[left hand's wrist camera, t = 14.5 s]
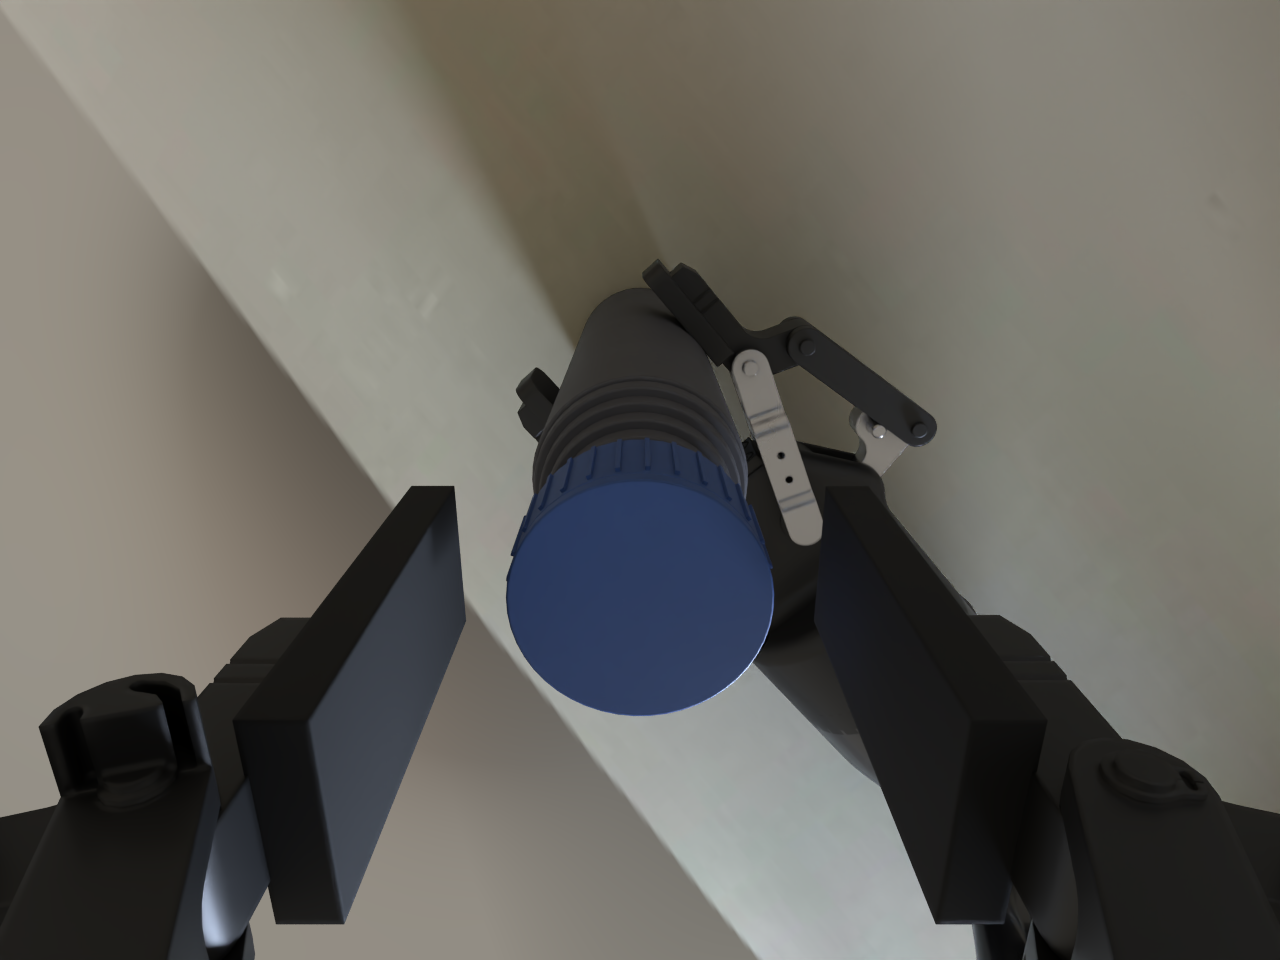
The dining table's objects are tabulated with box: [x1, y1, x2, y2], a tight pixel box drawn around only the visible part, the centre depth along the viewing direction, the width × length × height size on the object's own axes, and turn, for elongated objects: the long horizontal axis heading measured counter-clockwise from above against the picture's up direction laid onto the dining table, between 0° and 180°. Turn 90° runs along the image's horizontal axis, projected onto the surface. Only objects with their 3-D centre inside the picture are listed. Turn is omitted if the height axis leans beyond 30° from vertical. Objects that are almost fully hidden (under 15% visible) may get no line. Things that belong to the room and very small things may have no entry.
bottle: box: [532, 288, 748, 500], centre depth 23 cm, size 5×5×21 cm
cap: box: [506, 438, 774, 716], centre depth 14 cm, size 4×4×2 cm
